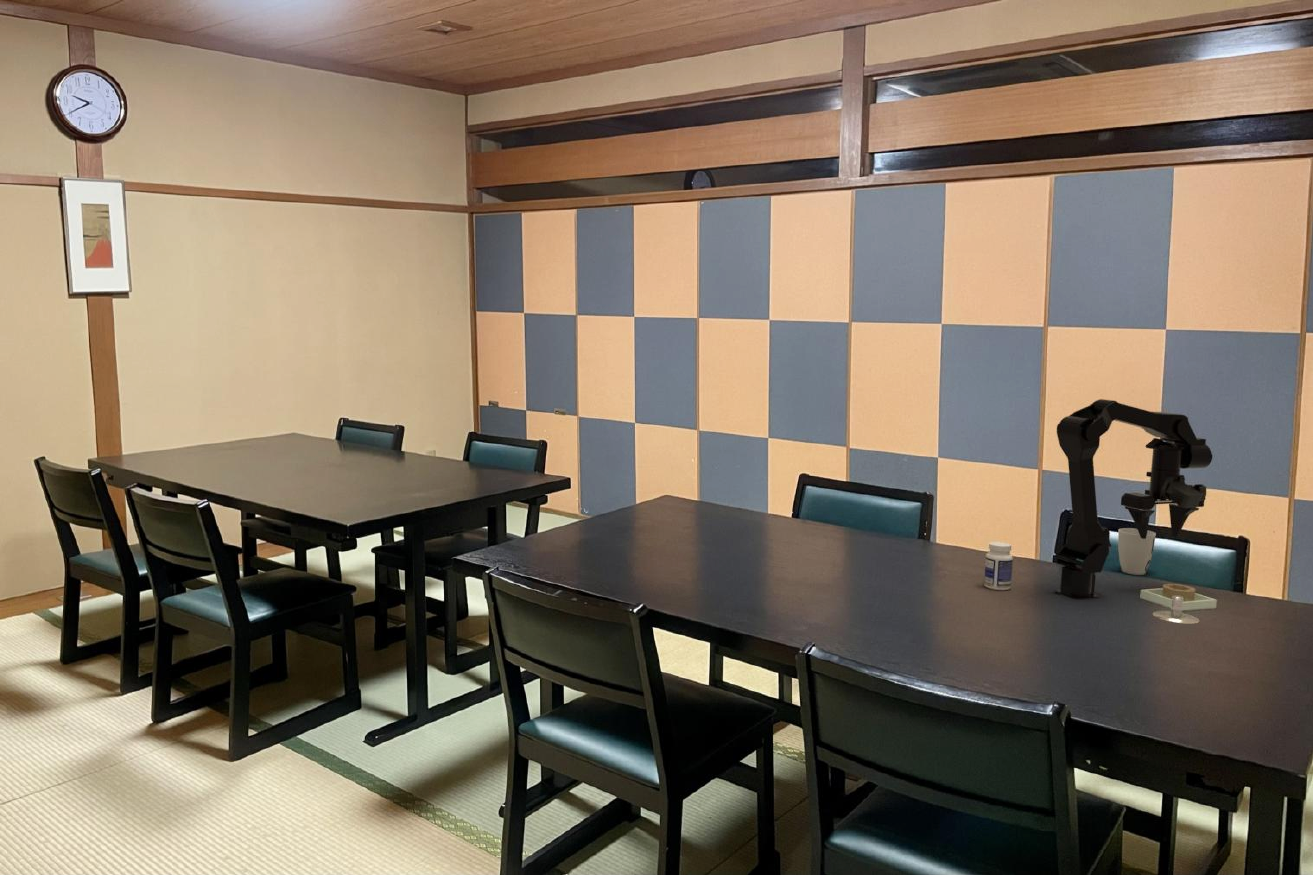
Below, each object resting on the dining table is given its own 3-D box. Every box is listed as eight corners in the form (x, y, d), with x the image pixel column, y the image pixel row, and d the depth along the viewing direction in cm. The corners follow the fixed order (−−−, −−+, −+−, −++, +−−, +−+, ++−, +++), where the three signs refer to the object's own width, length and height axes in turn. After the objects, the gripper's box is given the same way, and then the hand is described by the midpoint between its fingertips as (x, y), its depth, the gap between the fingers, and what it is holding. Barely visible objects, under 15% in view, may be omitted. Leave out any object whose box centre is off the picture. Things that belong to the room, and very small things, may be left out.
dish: (1178, 613, 204) (1179, 603, 204) (1139, 599, 213) (1140, 589, 213) (1215, 610, 207) (1216, 599, 207) (1175, 596, 217) (1176, 587, 217)
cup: (1156, 577, 233) (1160, 536, 232) (1119, 574, 235) (1123, 533, 234) (1146, 569, 241) (1150, 529, 240) (1111, 566, 243) (1114, 527, 242)
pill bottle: (1011, 586, 222) (1015, 543, 220) (1009, 592, 216) (1012, 548, 215) (985, 582, 224) (988, 539, 223) (982, 588, 219) (985, 544, 218)
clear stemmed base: (1177, 626, 195) (1179, 604, 194) (1143, 614, 202) (1145, 592, 202) (1209, 623, 197) (1211, 601, 197) (1174, 611, 205) (1176, 590, 205)
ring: (1178, 607, 206) (1179, 592, 206) (1155, 599, 212) (1156, 584, 212) (1200, 605, 208) (1201, 590, 208) (1176, 597, 214) (1178, 583, 214)
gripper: (1162, 475, 208) (1155, 547, 210) (1228, 473, 215) (1221, 543, 216) (1122, 467, 219) (1116, 536, 221) (1186, 466, 225) (1179, 532, 227)
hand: (1159, 537), depth 221 cm, fingers open, 9 cm apart
